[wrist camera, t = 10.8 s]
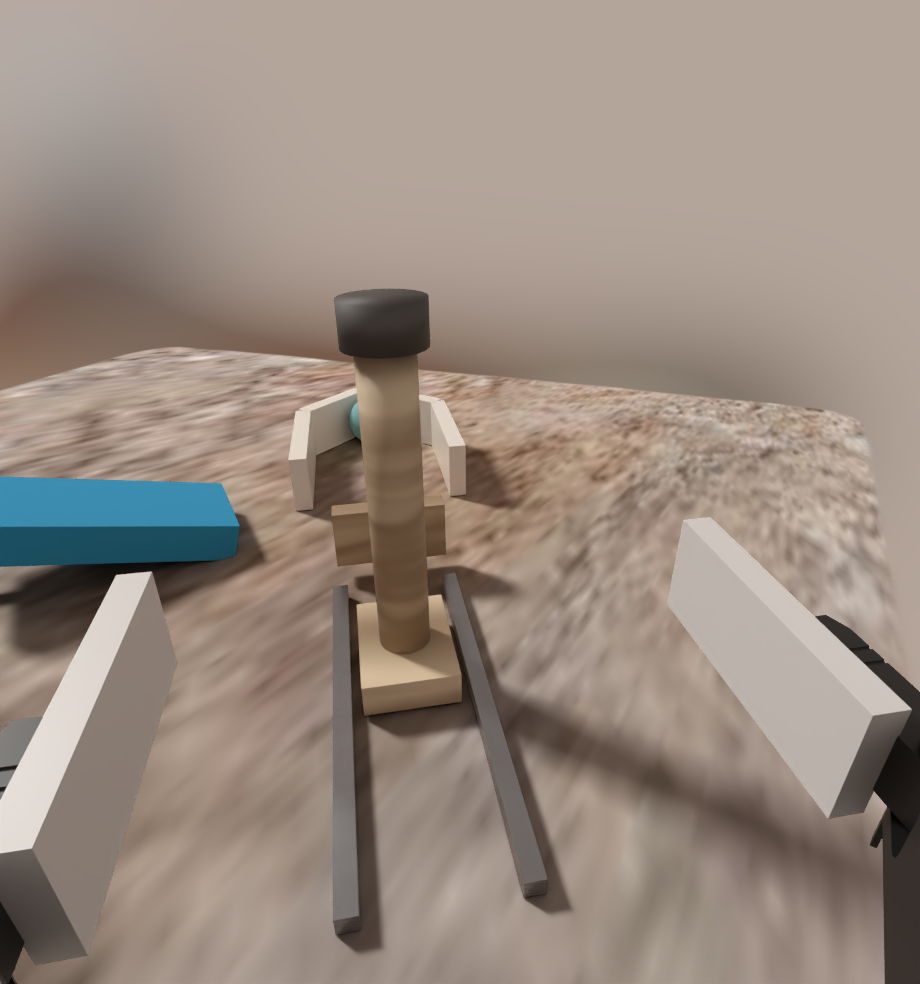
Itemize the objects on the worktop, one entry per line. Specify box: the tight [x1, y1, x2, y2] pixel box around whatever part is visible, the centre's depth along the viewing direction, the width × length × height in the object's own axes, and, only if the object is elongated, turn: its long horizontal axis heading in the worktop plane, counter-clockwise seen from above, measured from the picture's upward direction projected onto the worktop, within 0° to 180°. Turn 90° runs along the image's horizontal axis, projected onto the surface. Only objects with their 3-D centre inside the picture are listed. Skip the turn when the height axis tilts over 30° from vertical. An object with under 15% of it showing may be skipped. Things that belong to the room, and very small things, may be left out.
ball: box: [349, 402, 361, 440], centre depth 55 cm, size 4×4×4 cm
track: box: [333, 573, 548, 935], centre depth 28 cm, size 18×7×1 cm, turn 10°
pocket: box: [288, 388, 466, 511], centre depth 52 cm, size 16×12×4 cm
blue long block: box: [0, 477, 240, 567], centre depth 39 cm, size 7×7×18 cm
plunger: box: [332, 289, 462, 716], centre depth 29 cm, size 12×6×17 cm, turn 10°
